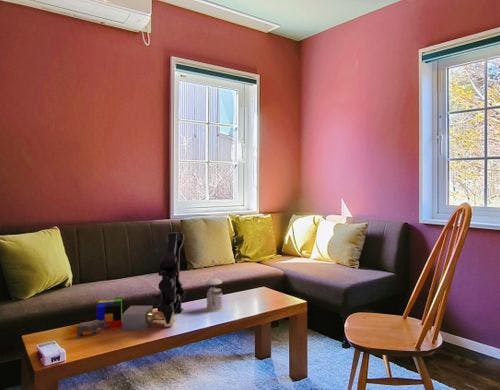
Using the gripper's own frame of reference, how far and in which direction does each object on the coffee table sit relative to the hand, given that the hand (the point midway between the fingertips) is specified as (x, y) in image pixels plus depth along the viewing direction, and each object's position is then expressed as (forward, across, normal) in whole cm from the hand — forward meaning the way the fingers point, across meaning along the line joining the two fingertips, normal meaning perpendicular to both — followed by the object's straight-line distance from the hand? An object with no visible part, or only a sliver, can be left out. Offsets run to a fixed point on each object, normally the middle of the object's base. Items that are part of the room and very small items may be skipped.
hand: (169, 321), depth 176 cm
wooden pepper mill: (+1, 0, -7) cm, 7 cm away
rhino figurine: (+2, +10, -30) cm, 32 cm away
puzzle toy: (+2, -1, -27) cm, 27 cm away
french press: (+2, -22, +18) cm, 28 cm away
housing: (+2, 0, -14) cm, 14 cm away
